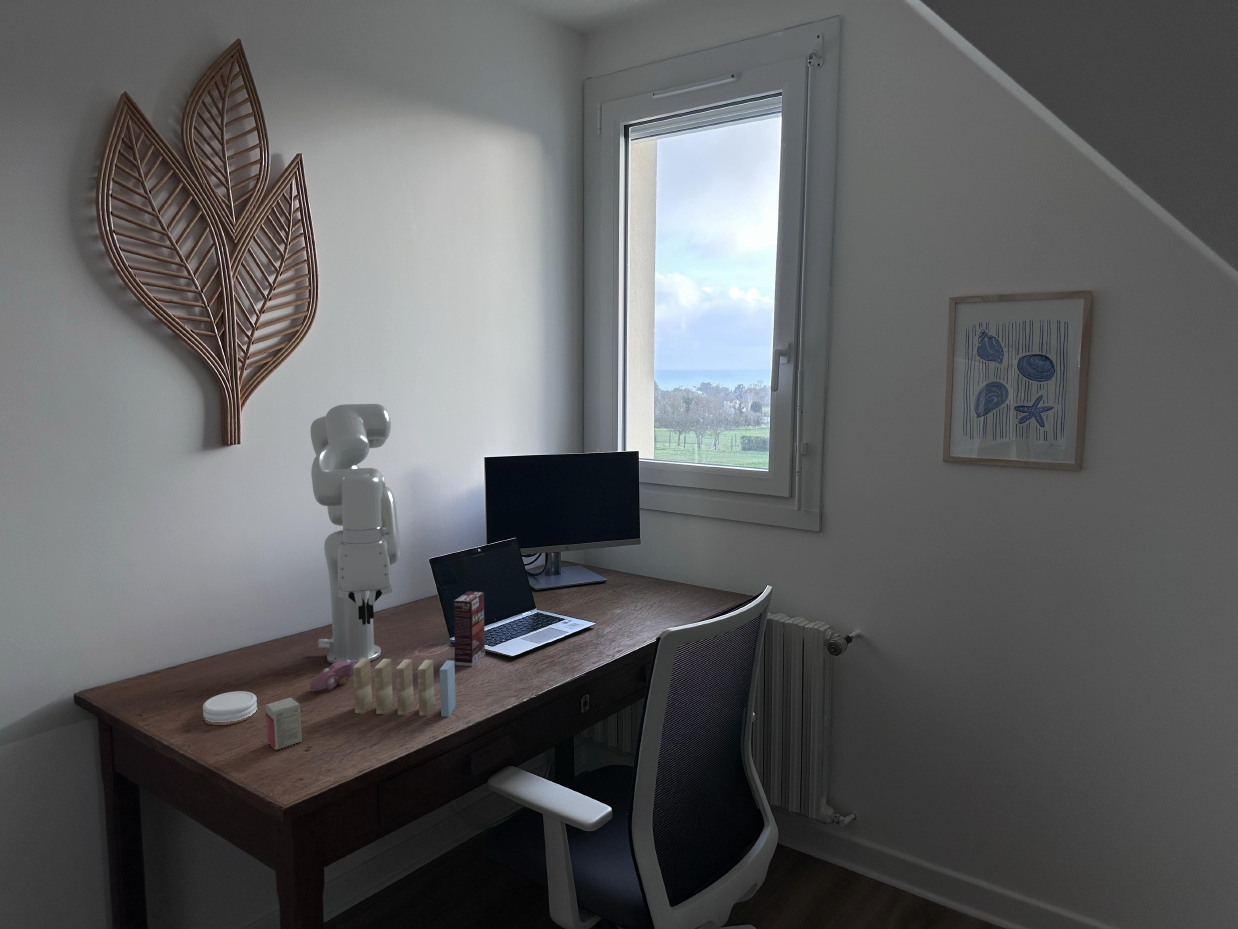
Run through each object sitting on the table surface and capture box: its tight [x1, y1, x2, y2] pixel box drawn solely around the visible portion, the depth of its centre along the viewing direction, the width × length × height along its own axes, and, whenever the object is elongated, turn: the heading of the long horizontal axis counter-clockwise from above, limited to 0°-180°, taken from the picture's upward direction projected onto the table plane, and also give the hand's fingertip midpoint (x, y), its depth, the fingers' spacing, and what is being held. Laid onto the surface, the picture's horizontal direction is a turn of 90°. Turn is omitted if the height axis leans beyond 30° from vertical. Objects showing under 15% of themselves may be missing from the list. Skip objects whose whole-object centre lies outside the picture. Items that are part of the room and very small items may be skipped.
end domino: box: [439, 659, 457, 718], centre depth 166 cm, size 2×5×10 cm, turn 175°
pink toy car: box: [309, 659, 356, 692], centre depth 179 cm, size 10×5×7 cm, turn 150°
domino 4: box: [417, 659, 435, 717], centre depth 166 cm, size 2×5×10 cm, turn 176°
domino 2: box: [374, 658, 394, 715], centre depth 167 cm, size 2×5×10 cm, turn 176°
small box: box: [264, 697, 303, 748], centre depth 153 cm, size 5×4×8 cm
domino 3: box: [395, 659, 415, 716], centre depth 167 cm, size 2×5×10 cm, turn 176°
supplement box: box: [453, 591, 486, 667], centre depth 195 cm, size 9×5×16 cm, turn 168°
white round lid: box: [202, 690, 258, 722], centre depth 165 cm, size 10×10×4 cm
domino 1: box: [352, 658, 373, 714], centre depth 168 cm, size 2×5×10 cm, turn 176°
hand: (366, 622), depth 166 cm, fingers closed
